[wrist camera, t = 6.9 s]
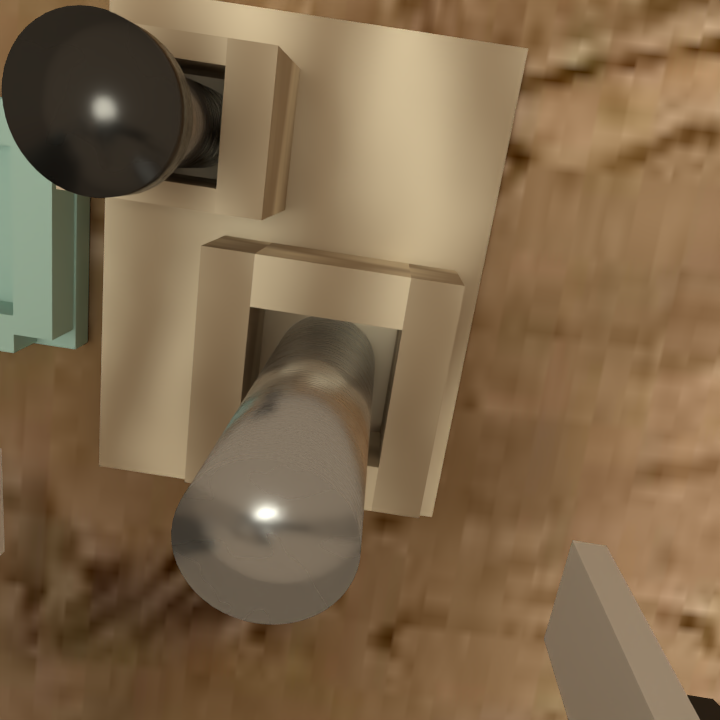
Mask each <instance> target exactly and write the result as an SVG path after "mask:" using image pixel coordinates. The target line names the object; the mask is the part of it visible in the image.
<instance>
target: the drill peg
mask: <svg viewBox="0 0 720 720" xmlns="http://www.w3.org/2000/svg"><path fill="white" fill-rule="evenodd" d="M374 371H375V357H374V352H373V349H372V346H371V344H370V342H369V340H368V338H367V337H366V335H365V334H364V333H363V332H362V331H361V330H360V329H359V328H358V327H357V326H356V325H354V324H353V323H352V322H346V321H340V320H333V319H327V318H320V317H314V316H310V317H307V318H305V319H302V320H300V321H299V322H297V323H295V324H294V325H293V326H292V327H291V328H289V330H288V331H287V332H286V333H285V334H284V336H283V337H282V339H281V340H280V342H279V344H278V345H277V347H276V348H275V350H274V352H273V353H272V355H271V356H270V358H269V360H268V361H267V363H266V364H265V366H264V368H263V369H262V371H261V372H260V374H259V376H258V377H257V379H256V380H255V382H254V384H253V385H252V387H251V388H250V390H249V392H248V393H247V395H246V396H245V398H244V400H243V401H242V403H241V404H240V406H239V408H238V409H237V411H236V412H235V414H234V416H233V417H232V419H231V420H230V422H229V424H228V425H227V427H226V428H225V430H224V432H223V433H222V435H221V436H220V438H219V440H218V441H217V443H216V444H215V446H214V448H213V449H212V451H211V452H210V454H209V456H208V457H207V459H206V460H205V462H204V464H203V465H202V467H201V468H200V470H199V472H198V473H197V475H196V476H195V478H194V480H193V481H192V483H191V484H190V486H189V488H188V489H187V491H186V492H185V494H184V496H183V497H182V499H181V500H180V503H179V505H178V507H177V509H176V512H175V515H174V518H173V523H172V530H171V537H172V548H173V553H174V556H175V560H176V563H177V565H178V567H179V569H180V571H181V573H182V575H183V576H184V578H185V580H186V581H187V583H188V584H189V585H190V586H191V588H192V589H193V590H194V591H195V592H196V593H197V594H198V595H199V596H200V597H201V598H202V599H203V600H205V601H206V602H207V603H209V604H210V605H211V606H213V607H215V608H216V609H218V610H220V611H221V612H223V613H225V614H228V615H230V616H232V617H235V618H238V619H241V620H244V621H248V622H253V623H259V624H287V623H293V622H298V621H302V620H305V619H308V618H310V617H313V616H315V615H317V614H319V613H321V612H323V611H324V610H326V609H327V608H329V607H330V606H332V605H333V604H334V603H335V602H336V601H337V600H338V599H340V598H341V597H342V595H343V594H344V593H345V592H346V590H347V589H348V588H349V586H350V584H351V583H352V581H353V579H354V577H355V574H356V572H357V569H358V565H359V561H360V553H361V541H362V528H363V515H364V502H365V489H366V476H367V462H368V449H369V436H370V423H371V410H372V397H373V384H374Z"/></svg>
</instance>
